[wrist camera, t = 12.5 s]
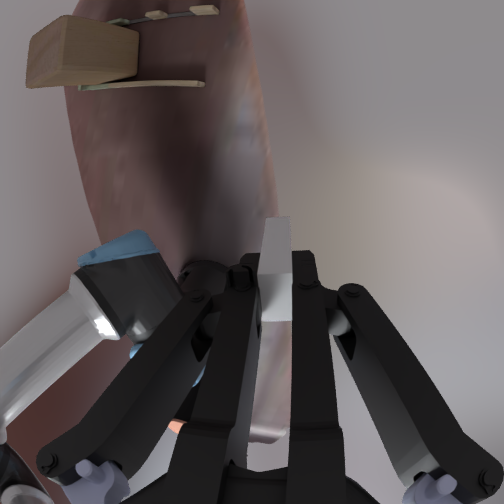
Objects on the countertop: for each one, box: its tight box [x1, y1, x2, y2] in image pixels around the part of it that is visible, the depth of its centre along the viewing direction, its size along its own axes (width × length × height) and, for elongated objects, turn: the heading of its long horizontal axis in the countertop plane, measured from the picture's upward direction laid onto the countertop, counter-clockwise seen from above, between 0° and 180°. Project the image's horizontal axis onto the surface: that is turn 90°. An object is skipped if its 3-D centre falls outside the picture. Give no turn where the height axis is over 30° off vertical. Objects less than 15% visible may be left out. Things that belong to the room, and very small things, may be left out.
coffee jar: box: [168, 375, 203, 434], centre depth 67 cm, size 11×11×18 cm
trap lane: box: [78, 5, 219, 90], centre depth 35 cm, size 15×26×5 cm, turn 81°
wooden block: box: [26, 15, 139, 89], centre depth 30 cm, size 10×10×20 cm
